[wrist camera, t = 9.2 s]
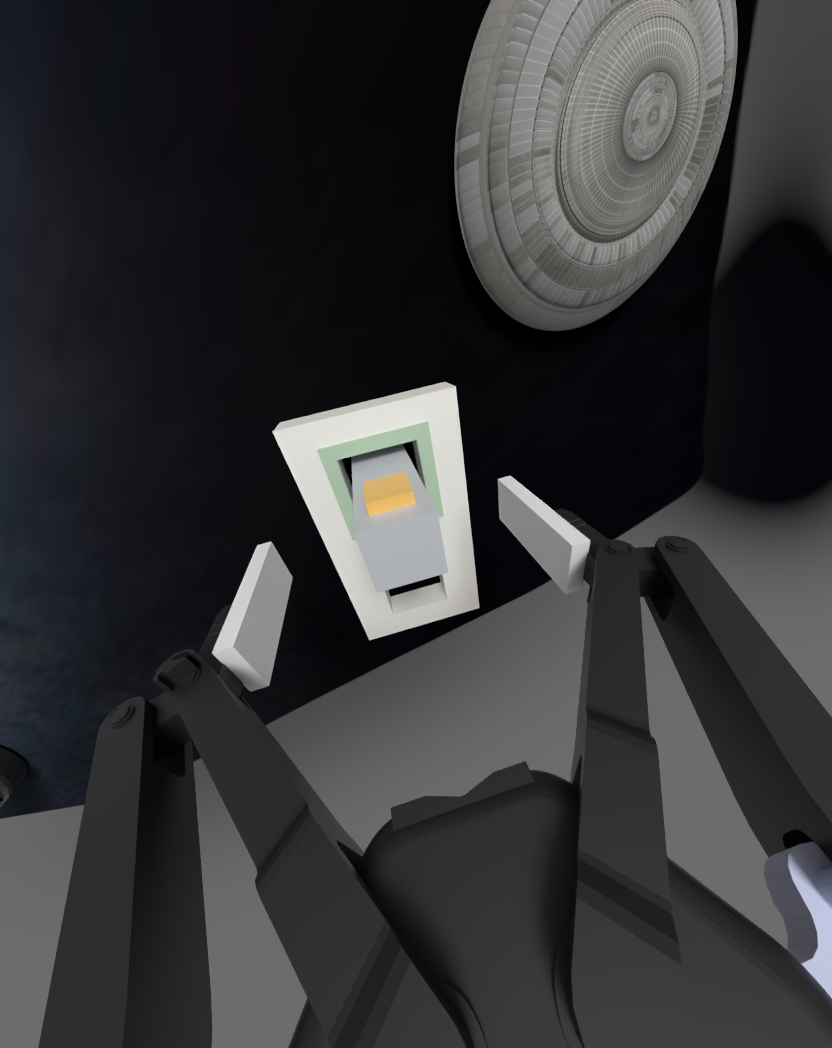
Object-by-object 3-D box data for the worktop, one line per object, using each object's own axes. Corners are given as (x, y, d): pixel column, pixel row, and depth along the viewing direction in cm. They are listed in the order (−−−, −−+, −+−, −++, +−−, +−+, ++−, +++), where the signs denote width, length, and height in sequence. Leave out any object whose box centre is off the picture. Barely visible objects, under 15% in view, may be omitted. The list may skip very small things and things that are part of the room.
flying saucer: (462, -126, 12) (535, -424, 7) (755, -30, 14) (945, -203, 10) (437, 327, 20) (464, 323, 15) (629, 334, 22) (702, 333, 18)
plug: (366, 499, 25) (376, 592, 16) (348, 446, 22) (349, 521, 13) (411, 487, 25) (448, 572, 16) (399, 433, 23) (435, 498, 13)
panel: (368, 621, 33) (369, 641, 30) (280, 422, 20) (271, 432, 18) (471, 591, 33) (480, 609, 31) (445, 381, 21) (456, 387, 19)
